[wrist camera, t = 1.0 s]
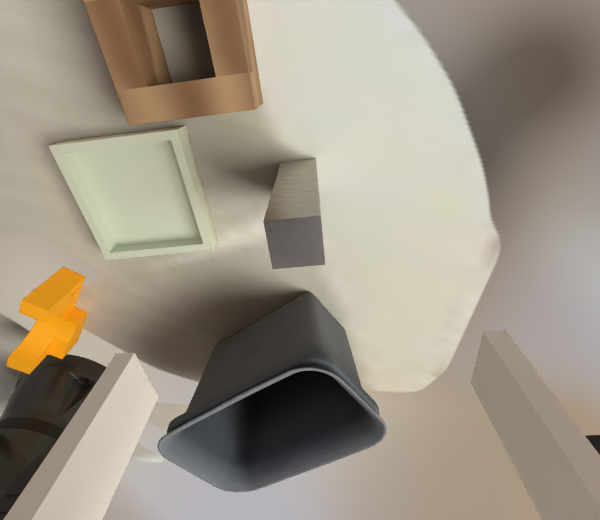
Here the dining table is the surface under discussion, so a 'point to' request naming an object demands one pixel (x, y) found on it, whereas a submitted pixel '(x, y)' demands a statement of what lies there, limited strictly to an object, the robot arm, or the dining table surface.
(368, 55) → the dining table surface
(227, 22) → the hollow wooden square
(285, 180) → the grey wooden beam
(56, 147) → the tray
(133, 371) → the robot arm
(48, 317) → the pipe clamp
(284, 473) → the storage bin
